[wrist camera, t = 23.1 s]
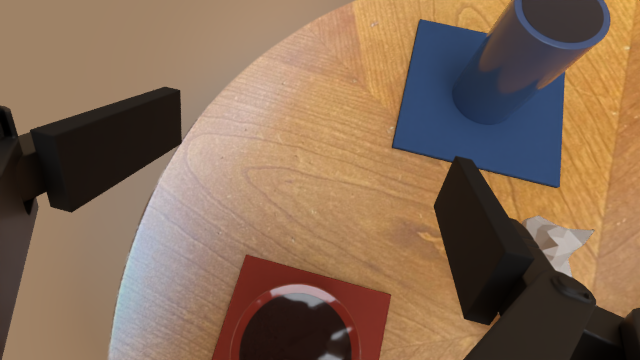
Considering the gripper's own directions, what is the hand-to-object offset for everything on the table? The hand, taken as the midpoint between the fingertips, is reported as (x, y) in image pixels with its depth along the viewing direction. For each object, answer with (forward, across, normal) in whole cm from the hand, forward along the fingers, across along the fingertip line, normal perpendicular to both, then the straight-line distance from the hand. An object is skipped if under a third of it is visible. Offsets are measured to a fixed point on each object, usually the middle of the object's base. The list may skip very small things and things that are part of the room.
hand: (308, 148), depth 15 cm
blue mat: (+22, +14, +1) cm, 26 cm away
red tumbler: (+4, +2, -17) cm, 18 cm away
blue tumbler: (+22, +14, +1) cm, 26 cm away
